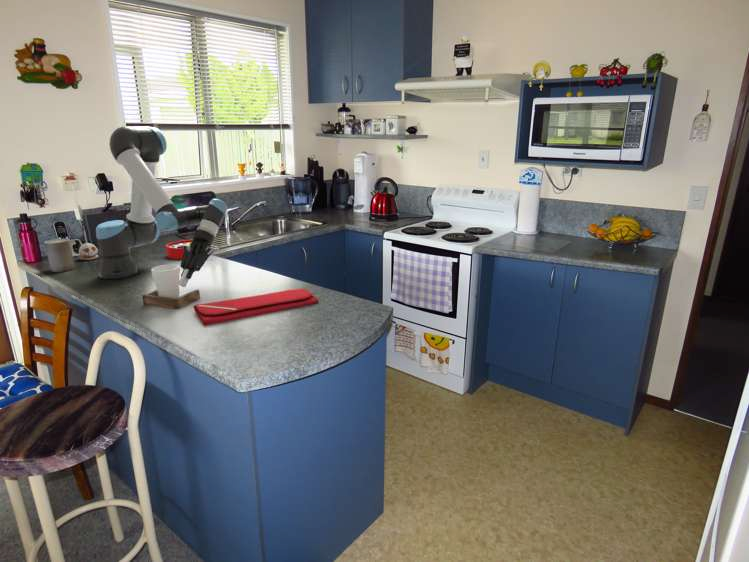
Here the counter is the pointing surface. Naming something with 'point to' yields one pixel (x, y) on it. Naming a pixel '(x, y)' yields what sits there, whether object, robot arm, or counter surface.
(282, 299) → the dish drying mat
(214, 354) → the counter surface
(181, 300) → the brown bent bar
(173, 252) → the red round bowl
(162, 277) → the foam cup
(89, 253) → the decorative ornament
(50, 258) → the grey tapered container
